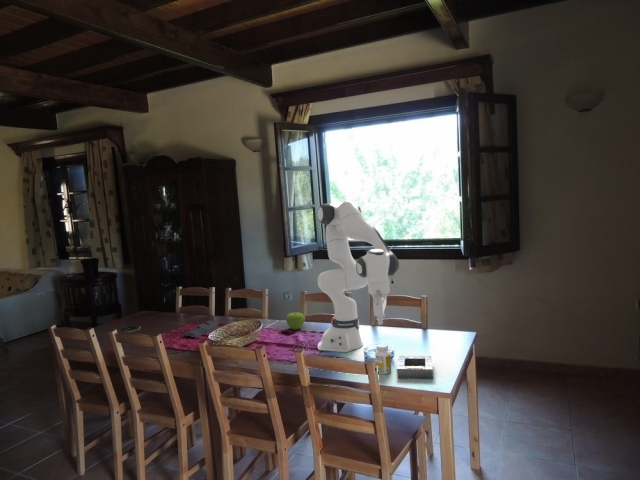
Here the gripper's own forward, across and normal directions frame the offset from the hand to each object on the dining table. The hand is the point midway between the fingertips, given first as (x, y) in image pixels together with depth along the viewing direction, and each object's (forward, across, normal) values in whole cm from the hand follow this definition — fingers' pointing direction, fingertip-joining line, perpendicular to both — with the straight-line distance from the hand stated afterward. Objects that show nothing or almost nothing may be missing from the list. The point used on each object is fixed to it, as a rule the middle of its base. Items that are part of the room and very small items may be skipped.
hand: (381, 321), depth 185 cm
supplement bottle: (+22, 0, 0) cm, 22 cm away
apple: (+21, +59, +55) cm, 84 cm away
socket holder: (+22, 0, -13) cm, 25 cm away
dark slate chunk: (+21, +54, +112) cm, 126 cm away
